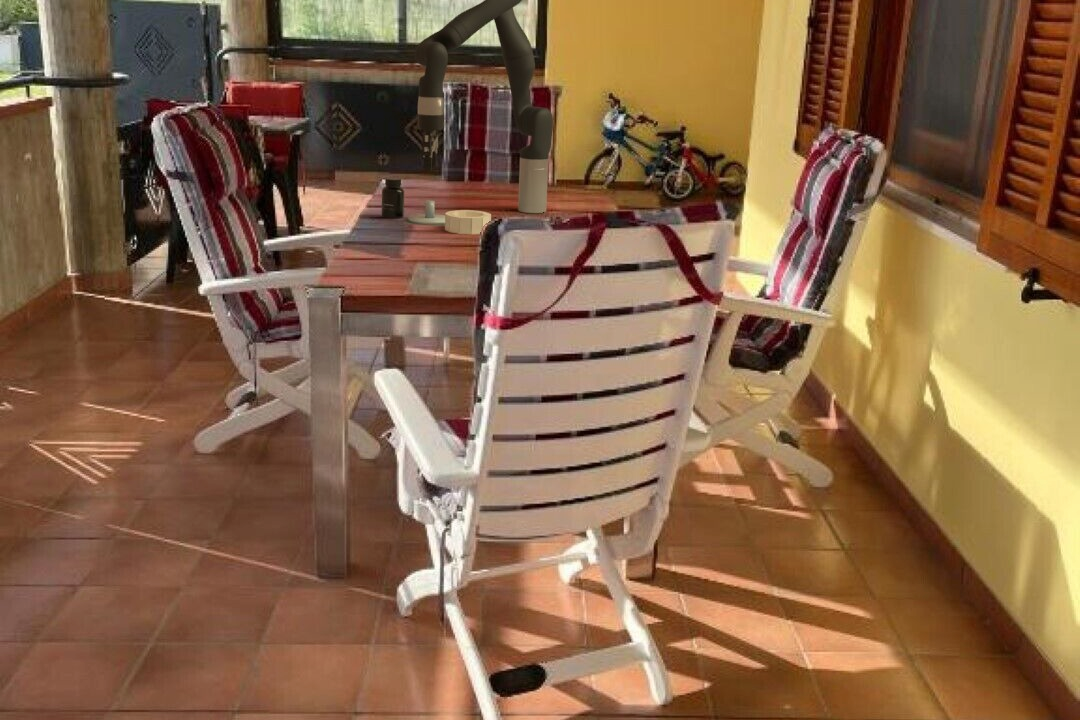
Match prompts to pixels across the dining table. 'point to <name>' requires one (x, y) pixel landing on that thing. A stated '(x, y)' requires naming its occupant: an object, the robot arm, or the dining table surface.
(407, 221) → the mat
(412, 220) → the lid
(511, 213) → the dining table surface
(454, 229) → the bowl
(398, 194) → the supplement bottle
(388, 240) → the dining table surface
